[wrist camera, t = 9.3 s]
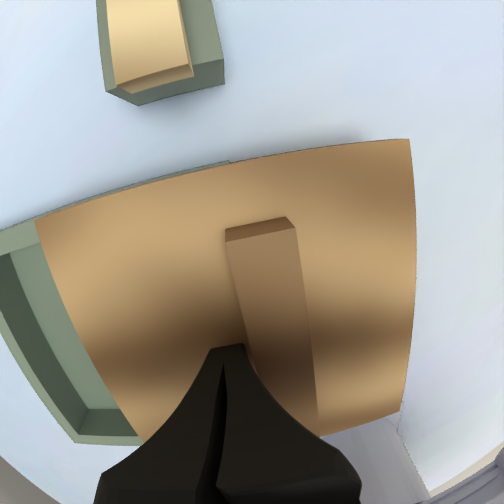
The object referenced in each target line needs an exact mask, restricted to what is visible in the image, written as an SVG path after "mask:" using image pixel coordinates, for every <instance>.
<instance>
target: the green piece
mask: <svg viewBox="0 0 504 504" xmlns="http://www.w3.org/2000/svg"><path fill="white" fill-rule="evenodd" d="M228 163H229V161H224V162H219V163H215V164H210V165H206V166H201V167H197V168H193V169H189V170H184V171H180V172H176V173H172V174H168V175H165V176H161V177H157V178H153V179H149V180H146V181H142V182H139V183H135V184H132V185H128V186H125V187H121V188H118V189H115V190H111V191H108V192H105V193H102V194H99V195H95V196H92V197H89V198H86V199H83V200H80V201H77V202H74V203H71V204H68V205H66V206H63V207H60V208H57V209H54V210H52V211H49V212H46V213H43V214H41V215H38V216H35V217H33V218H30V219H28V220H25V221H23V222H20V223H18V224H15V225H13V226H10V227H8V228H5V229H3V230H1V231H0V333H1V335H2V337H3V339H4V340H5V342H6V344H7V346H8V348H9V350H10V351H11V353H12V355H13V357H14V358H15V360H16V362H17V363H18V365H19V367H20V368H21V370H22V372H23V373H24V375H25V377H26V378H27V380H28V381H29V383H30V384H31V386H32V387H33V389H34V390H35V392H36V393H37V395H38V396H39V398H40V399H41V400H42V402H43V403H44V405H45V406H46V407H47V409H48V410H49V411H50V413H51V414H52V415H53V417H54V418H55V419H56V421H57V422H58V423H59V424H60V426H61V427H62V428H63V429H64V431H65V432H66V433H67V434H68V436H69V437H70V438H71V439H72V440H73V441H74V443H81V444H94V445H116V446H141V445H143V444H144V443H143V441H142V440H141V439H140V437H139V436H138V434H137V433H136V432H135V430H134V429H133V427H132V426H131V424H130V423H129V422H128V420H127V419H126V417H125V416H124V414H123V413H122V411H121V410H120V408H119V406H118V405H117V403H116V402H115V400H114V399H113V397H112V395H111V394H110V392H109V390H108V389H107V387H106V385H105V384H104V382H103V380H102V379H101V377H100V375H99V373H98V372H97V370H96V368H95V366H94V365H93V363H92V361H91V359H90V357H89V355H88V353H87V352H86V350H85V348H84V346H83V344H82V342H81V340H80V338H79V336H78V334H77V332H76V330H75V328H74V325H73V323H72V321H71V319H70V317H69V315H68V312H67V310H66V308H65V306H64V303H63V301H62V299H61V296H60V294H59V291H58V289H57V287H56V284H55V281H54V279H53V276H52V274H51V271H50V268H49V266H48V263H47V260H46V257H45V254H44V251H43V248H42V245H41V242H40V239H39V236H38V233H37V230H36V226H35V223H34V220H36V219H39V218H41V217H43V216H45V215H47V214H50V213H53V212H56V211H59V210H61V209H64V208H67V207H70V206H73V205H76V204H79V203H82V202H85V201H88V200H91V199H94V198H97V197H101V196H104V195H107V194H110V193H114V192H117V191H120V190H124V189H127V188H131V187H134V186H138V185H141V184H145V183H149V182H152V181H156V180H160V179H164V178H168V177H171V176H175V175H179V174H184V173H188V172H192V171H196V170H200V169H205V168H209V167H214V166H218V165H223V164H228Z"/></svg>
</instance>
